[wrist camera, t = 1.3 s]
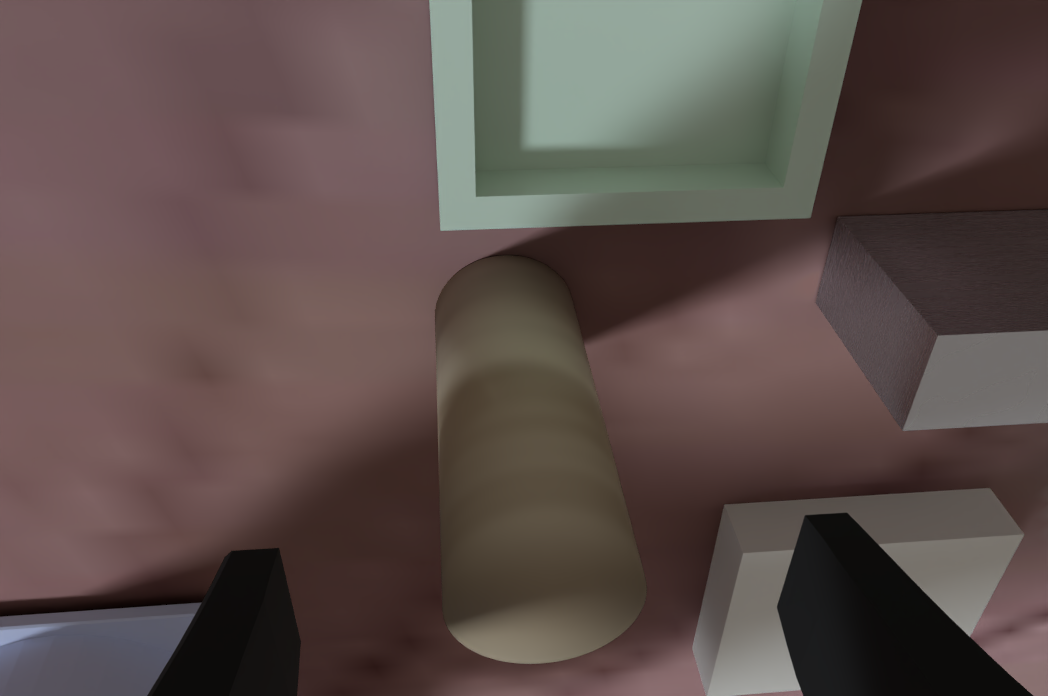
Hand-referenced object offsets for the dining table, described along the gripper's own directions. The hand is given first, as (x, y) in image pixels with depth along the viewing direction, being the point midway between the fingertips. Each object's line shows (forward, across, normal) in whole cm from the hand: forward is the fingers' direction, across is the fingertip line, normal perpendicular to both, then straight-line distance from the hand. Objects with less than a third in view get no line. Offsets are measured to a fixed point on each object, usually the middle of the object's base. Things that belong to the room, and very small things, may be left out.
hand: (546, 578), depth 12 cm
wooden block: (+7, -9, -1) cm, 11 cm away
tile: (+7, -9, +9) cm, 15 cm away
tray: (+7, -2, -6) cm, 9 cm away
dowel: (+7, 0, 0) cm, 7 cm away
